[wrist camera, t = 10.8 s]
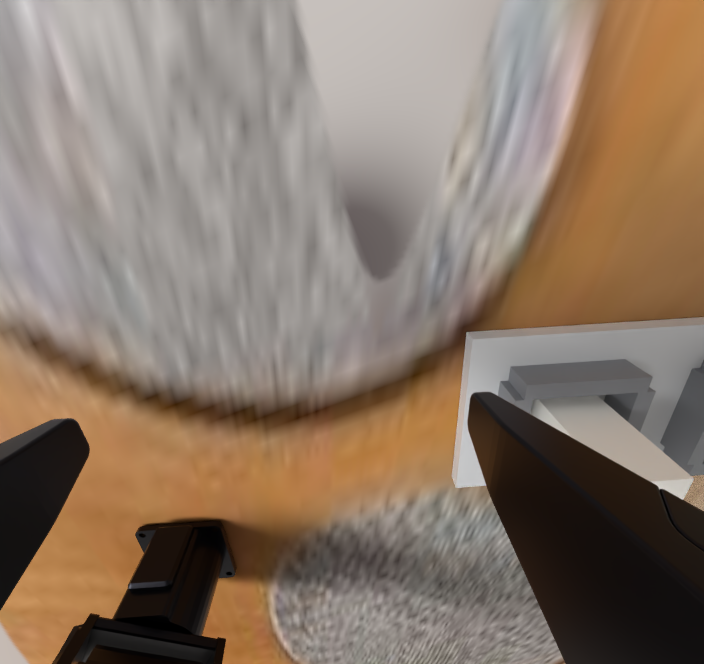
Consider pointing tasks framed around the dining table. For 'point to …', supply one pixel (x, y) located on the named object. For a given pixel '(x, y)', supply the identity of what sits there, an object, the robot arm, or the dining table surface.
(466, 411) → the housing
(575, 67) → the dining table surface
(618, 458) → the cream rectangular block
